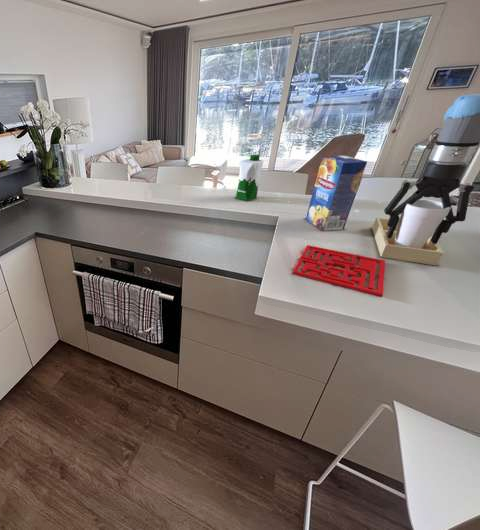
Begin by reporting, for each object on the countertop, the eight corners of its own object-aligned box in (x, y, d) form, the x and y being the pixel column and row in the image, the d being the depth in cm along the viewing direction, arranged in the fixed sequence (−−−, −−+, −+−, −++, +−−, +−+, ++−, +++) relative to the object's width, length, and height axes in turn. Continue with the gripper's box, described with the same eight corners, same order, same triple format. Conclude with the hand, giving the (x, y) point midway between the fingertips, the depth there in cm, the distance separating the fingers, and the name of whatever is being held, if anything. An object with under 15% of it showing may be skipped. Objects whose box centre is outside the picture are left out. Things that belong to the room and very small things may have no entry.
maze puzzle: (306, 246, 96) (307, 244, 95) (384, 262, 84) (385, 260, 84) (292, 273, 83) (292, 271, 82) (381, 296, 71) (382, 294, 71)
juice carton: (343, 229, 105) (367, 161, 93) (322, 230, 106) (343, 163, 94) (324, 217, 116) (343, 155, 103) (305, 218, 116) (322, 156, 104)
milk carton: (259, 198, 142) (266, 155, 132) (247, 202, 138) (254, 158, 128) (244, 194, 148) (250, 153, 138) (232, 198, 144) (237, 156, 134)
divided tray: (417, 233, 98) (423, 222, 96) (436, 265, 81) (443, 252, 79) (371, 228, 104) (376, 217, 102) (380, 257, 87) (385, 245, 85)
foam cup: (386, 236, 93) (403, 197, 87) (426, 242, 88) (447, 201, 82) (388, 248, 87) (406, 207, 80) (431, 255, 82) (454, 211, 75)
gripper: (394, 163, 78) (365, 238, 89) (518, 166, 67) (467, 251, 78) (390, 158, 83) (363, 229, 94) (504, 160, 72) (458, 240, 84)
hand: (410, 239), depth 86 cm, fingers closed on foam cup, 9 cm apart
